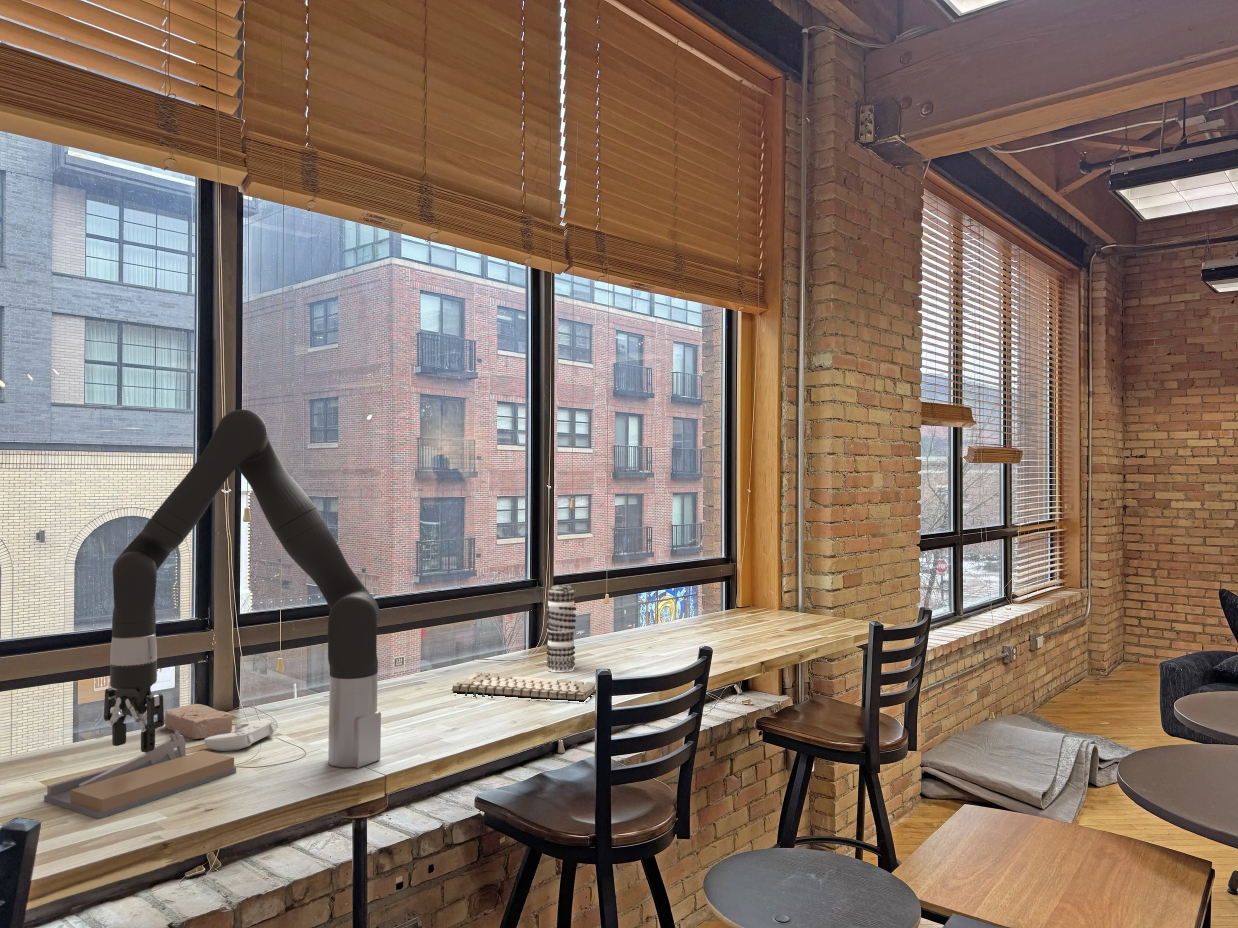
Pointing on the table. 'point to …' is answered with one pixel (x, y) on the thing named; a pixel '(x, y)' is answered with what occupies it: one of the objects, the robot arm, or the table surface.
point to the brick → (198, 721)
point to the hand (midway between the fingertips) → (133, 747)
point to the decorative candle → (561, 628)
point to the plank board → (139, 784)
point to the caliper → (145, 758)
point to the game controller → (241, 736)
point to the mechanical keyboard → (524, 687)
